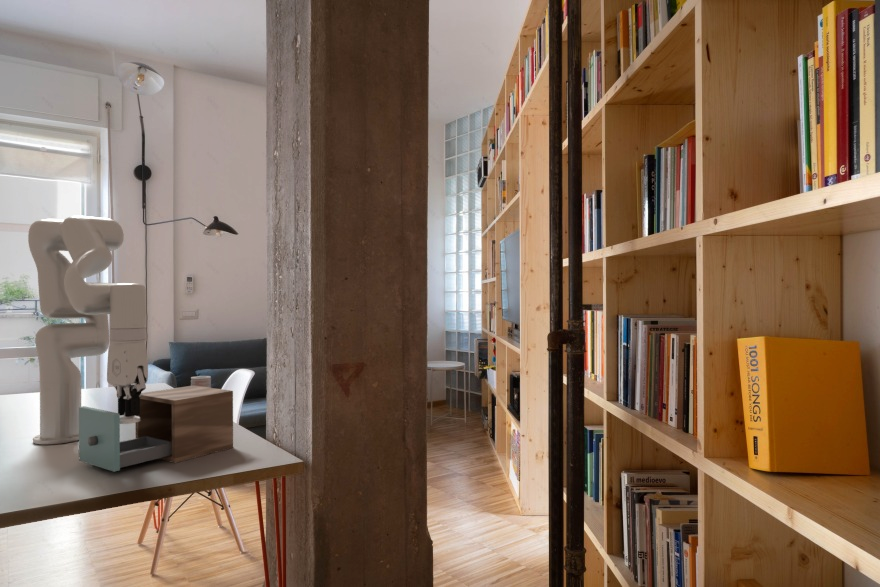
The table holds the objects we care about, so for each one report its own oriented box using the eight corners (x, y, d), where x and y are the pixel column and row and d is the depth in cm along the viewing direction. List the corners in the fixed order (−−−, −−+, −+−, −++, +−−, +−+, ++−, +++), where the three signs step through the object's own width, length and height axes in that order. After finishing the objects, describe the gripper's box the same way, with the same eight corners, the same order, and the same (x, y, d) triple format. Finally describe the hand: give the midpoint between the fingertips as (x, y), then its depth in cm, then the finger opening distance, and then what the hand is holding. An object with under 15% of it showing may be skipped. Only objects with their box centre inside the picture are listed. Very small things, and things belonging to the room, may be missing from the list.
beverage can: (215, 426, 173) (215, 376, 173) (198, 429, 168) (198, 378, 168) (203, 423, 176) (203, 374, 176) (187, 427, 171) (186, 377, 172)
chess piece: (126, 424, 131) (125, 380, 131) (111, 422, 133) (111, 379, 133) (145, 420, 136) (145, 377, 136) (131, 418, 138) (130, 376, 138)
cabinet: (135, 452, 144) (135, 393, 144) (193, 438, 158) (193, 385, 158) (174, 462, 135) (174, 400, 135) (233, 447, 148) (232, 390, 148)
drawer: (73, 461, 132) (73, 407, 132) (143, 446, 145) (142, 397, 145) (108, 473, 123) (108, 415, 123) (179, 455, 137) (178, 403, 137)
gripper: (94, 336, 136) (94, 414, 136) (130, 338, 127) (131, 421, 127) (126, 334, 142) (126, 409, 142) (163, 336, 133) (163, 415, 133)
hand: (128, 414), depth 134 cm, fingers closed on chess piece
